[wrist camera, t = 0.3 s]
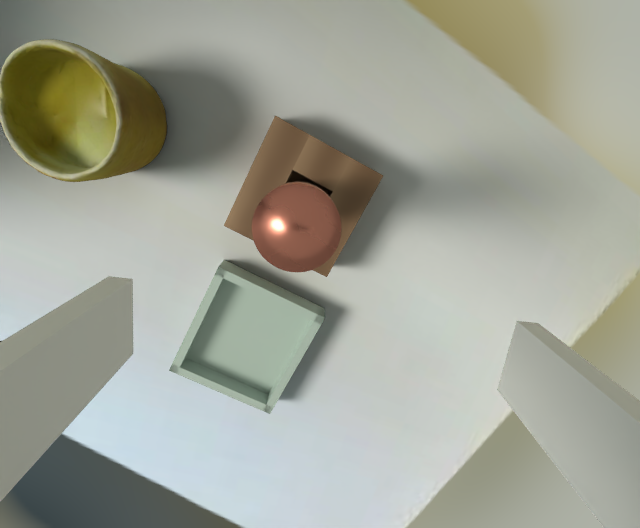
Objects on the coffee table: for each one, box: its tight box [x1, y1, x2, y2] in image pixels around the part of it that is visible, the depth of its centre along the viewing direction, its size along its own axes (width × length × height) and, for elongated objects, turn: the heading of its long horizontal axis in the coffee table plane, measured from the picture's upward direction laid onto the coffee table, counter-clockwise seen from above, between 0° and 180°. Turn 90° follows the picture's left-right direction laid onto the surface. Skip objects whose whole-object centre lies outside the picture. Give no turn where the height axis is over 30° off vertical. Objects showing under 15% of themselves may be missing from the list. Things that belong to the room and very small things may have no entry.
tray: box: [169, 260, 325, 414], centre depth 39 cm, size 11×12×2 cm
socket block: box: [224, 116, 383, 277], centre depth 34 cm, size 10×10×4 cm
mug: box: [0, 39, 167, 182], centre depth 30 cm, size 12×10×10 cm
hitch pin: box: [252, 179, 342, 272], centre depth 28 cm, size 5×5×16 cm
